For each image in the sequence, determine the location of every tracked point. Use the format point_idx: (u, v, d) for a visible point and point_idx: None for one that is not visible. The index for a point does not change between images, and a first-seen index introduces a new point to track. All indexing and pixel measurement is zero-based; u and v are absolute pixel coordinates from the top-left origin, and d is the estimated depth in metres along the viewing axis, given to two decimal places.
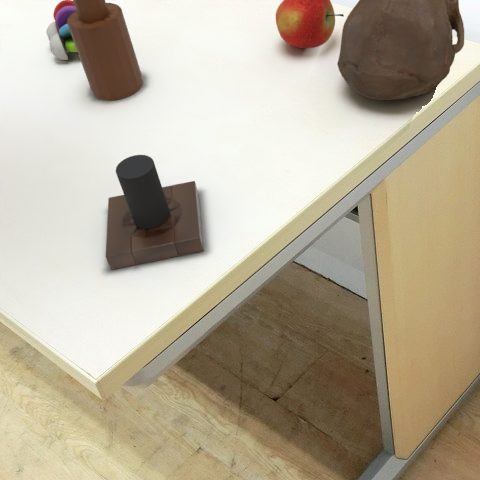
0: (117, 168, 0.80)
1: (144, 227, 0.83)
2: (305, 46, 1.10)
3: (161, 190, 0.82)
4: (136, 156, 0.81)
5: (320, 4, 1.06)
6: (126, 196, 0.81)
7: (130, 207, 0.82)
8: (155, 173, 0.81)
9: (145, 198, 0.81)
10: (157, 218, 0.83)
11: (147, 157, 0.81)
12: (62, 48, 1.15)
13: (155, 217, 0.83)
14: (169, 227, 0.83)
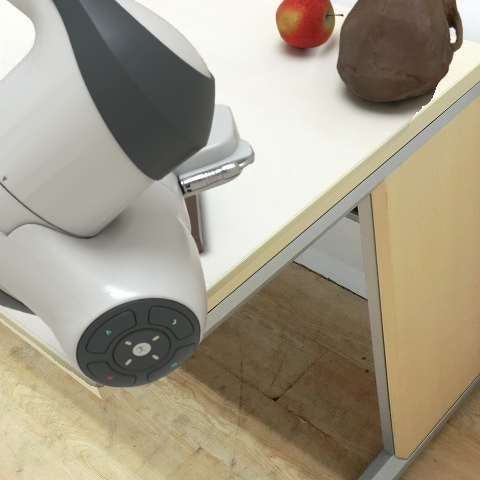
0: None
1: None
2: (305, 46, 1.10)
3: None
4: None
5: (320, 4, 1.06)
6: None
7: None
8: None
9: None
10: None
11: None
12: None
13: None
14: None
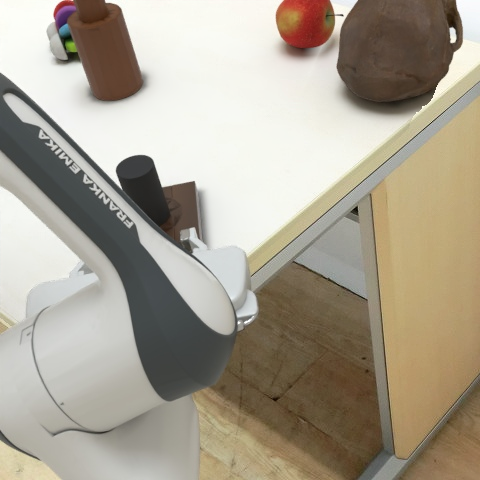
0: (117, 168, 0.80)
1: None
2: (305, 46, 1.10)
3: (161, 190, 0.82)
4: (136, 156, 0.81)
5: (320, 4, 1.06)
6: None
7: None
8: (155, 173, 0.81)
9: (145, 198, 0.81)
10: (157, 218, 0.83)
11: (147, 157, 0.81)
12: (62, 48, 1.15)
13: (155, 217, 0.83)
14: (169, 227, 0.83)
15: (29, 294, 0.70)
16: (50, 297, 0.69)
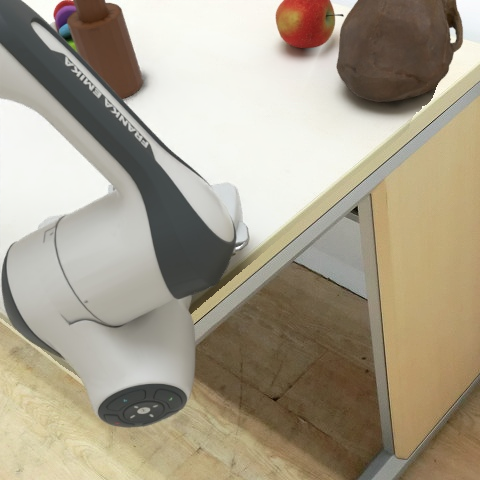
0: None
1: None
2: (305, 46, 1.10)
3: None
4: None
5: (320, 4, 1.06)
6: None
7: None
8: None
9: None
10: None
11: None
12: None
13: None
14: None
15: (40, 226, 0.76)
16: None
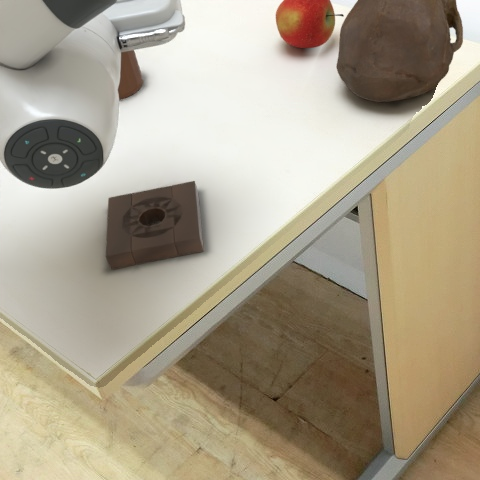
0: None
1: None
2: (305, 46, 1.10)
3: None
4: None
5: (320, 4, 1.06)
6: None
7: None
8: None
9: None
10: None
11: None
12: None
13: None
14: (169, 227, 0.83)
15: None
16: None
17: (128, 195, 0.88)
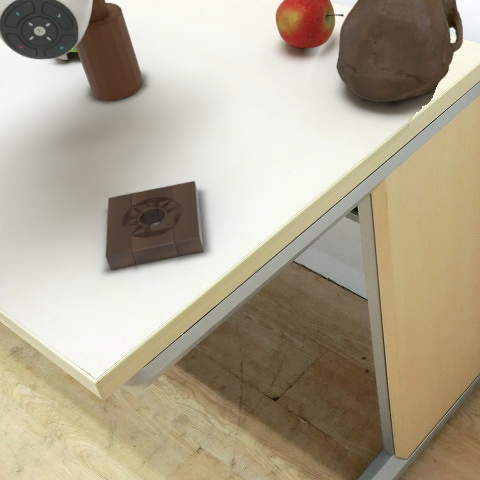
0: None
1: None
2: (305, 46, 1.10)
3: None
4: None
5: (320, 4, 1.06)
6: None
7: None
8: None
9: None
10: None
11: None
12: None
13: None
14: (169, 227, 0.83)
15: None
16: None
17: (128, 195, 0.88)
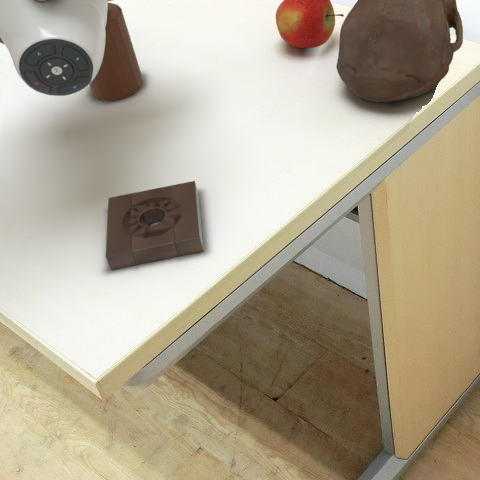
0: None
1: None
2: (305, 46, 1.10)
3: None
4: None
5: (320, 4, 1.06)
6: None
7: None
8: None
9: None
10: None
11: None
12: None
13: None
14: (169, 227, 0.83)
15: None
16: None
17: (128, 195, 0.88)
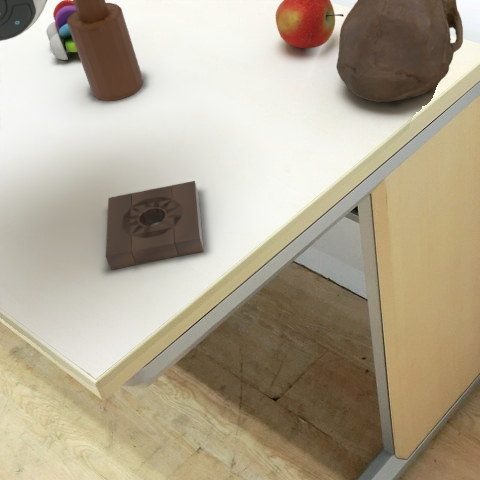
0: None
1: None
2: (305, 46, 1.10)
3: None
4: None
5: (320, 4, 1.06)
6: None
7: None
8: None
9: None
10: None
11: None
12: (62, 48, 1.15)
13: None
14: (169, 227, 0.83)
15: None
16: None
17: (128, 195, 0.88)
